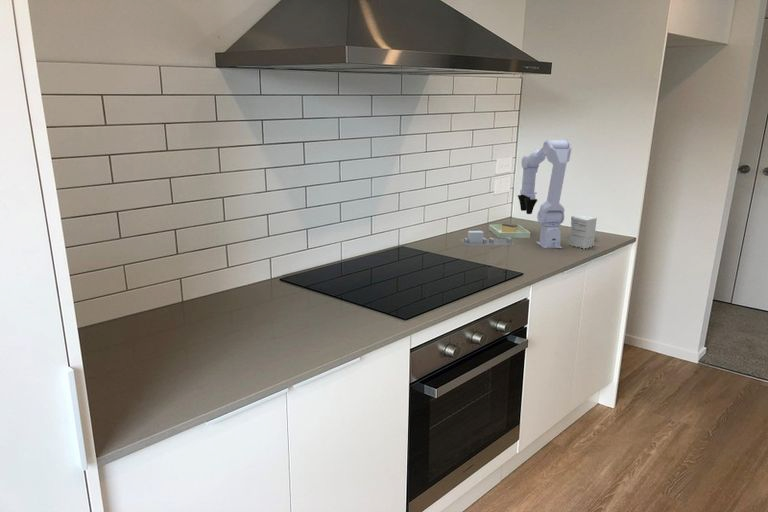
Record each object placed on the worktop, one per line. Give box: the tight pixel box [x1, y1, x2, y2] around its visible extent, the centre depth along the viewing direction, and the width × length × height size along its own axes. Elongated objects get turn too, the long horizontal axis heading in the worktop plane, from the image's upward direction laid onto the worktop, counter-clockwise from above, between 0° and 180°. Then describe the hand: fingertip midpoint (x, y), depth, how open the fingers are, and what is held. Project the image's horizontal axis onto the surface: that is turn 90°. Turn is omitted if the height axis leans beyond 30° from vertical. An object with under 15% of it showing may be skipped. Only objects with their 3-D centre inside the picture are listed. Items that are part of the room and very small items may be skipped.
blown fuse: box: [501, 222, 518, 232], centre depth 277 cm, size 3×6×4 cm, turn 52°
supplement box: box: [569, 214, 598, 250], centre depth 260 cm, size 7×7×13 cm
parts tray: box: [488, 224, 532, 239], centre depth 278 cm, size 16×14×3 cm
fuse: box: [467, 230, 485, 243], centre depth 262 cm, size 3×6×4 cm, turn 97°
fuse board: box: [459, 237, 517, 246], centre depth 263 cm, size 11×22×2 cm, turn 97°
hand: (526, 212), depth 282 cm, fingers open, 7 cm apart
